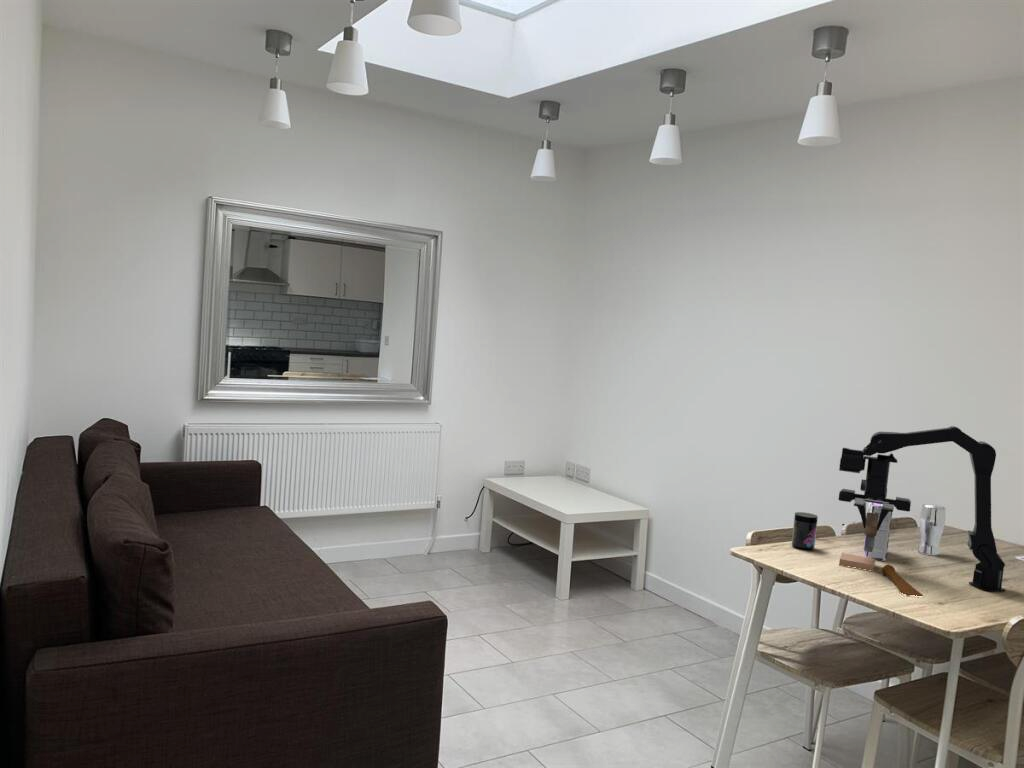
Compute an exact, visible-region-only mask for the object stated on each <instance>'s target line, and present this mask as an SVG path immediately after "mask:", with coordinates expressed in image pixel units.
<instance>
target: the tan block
mask: <svg viewBox="0 0 1024 768" xmlns="http://www.w3.org/2000/svg"><path fill="white" fill-rule="evenodd" d="M838 565H839V566H840V565H843V566H842V567H845V566H850V567H849V568H851V567H856V568H861V569H866V570H871V571H870V572H872V571H873V572H874V570H873V569H875V565H876V559H873V558H868V557H866V556H862V555H856V554H852V553H845V552H842V553H841V555H840V557H839V561H838ZM856 568H855V569H856ZM861 569H860V570H861ZM866 570H865V571H866Z"/></svg>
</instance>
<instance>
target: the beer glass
mask: <svg viewBox="0 0 1024 768" xmlns="http://www.w3.org/2000/svg"><path fill="white" fill-rule="evenodd" d="M921 506H922V507H921V511H920V516H919V517H920V518H919V530H920V542H919V546H918V549H917V552H918V553H919V554H922V555H926V556H930V557H938V556H940V542H941V538H942V535H943V531H944V528H945V523H946V507H944V506H941V505H935V504H930V503H929V504H925V503H924V504H922V505H921Z"/></svg>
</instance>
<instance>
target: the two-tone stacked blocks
mask: <svg viewBox="0 0 1024 768" xmlns="http://www.w3.org/2000/svg"><path fill="white" fill-rule="evenodd" d="M878 516H879V514H875V513H869V512H868V511H866V526H865V528H864V536H865V535H866V539H865V538H864V541H865V549H864V548H863V551H864V552H865V551H868V552H872V550H873V547H874V540H875V536H876V535H877V524H878Z"/></svg>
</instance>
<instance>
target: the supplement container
mask: <svg viewBox="0 0 1024 768" xmlns="http://www.w3.org/2000/svg"><path fill="white" fill-rule="evenodd" d="M793 519H794V520H793V529H792V539H791V546H792V547H793V548H794V549H797V550H801V551H806V552H807V551H813V550H815V545H816V544H815V543H816V535H817V528H818V527H817V525H818V519H819V516H818V515H817V514H814V513H809V512H800V511H797V512H794V518H793Z"/></svg>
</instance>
